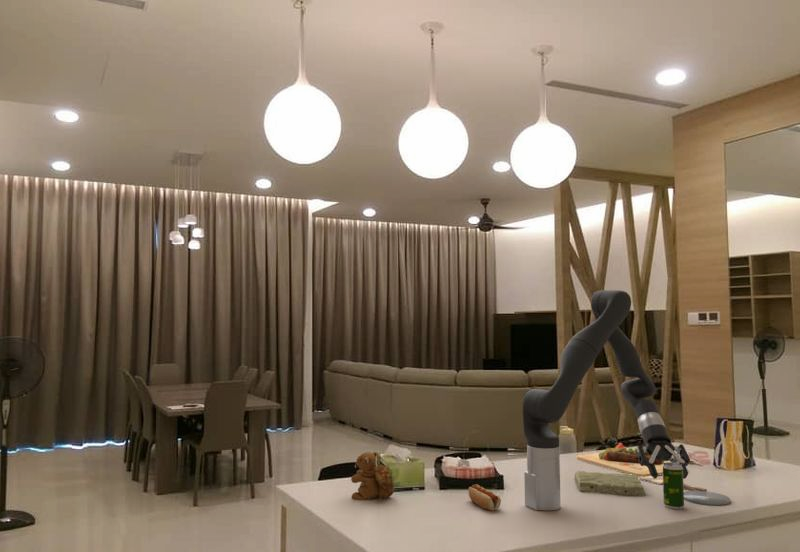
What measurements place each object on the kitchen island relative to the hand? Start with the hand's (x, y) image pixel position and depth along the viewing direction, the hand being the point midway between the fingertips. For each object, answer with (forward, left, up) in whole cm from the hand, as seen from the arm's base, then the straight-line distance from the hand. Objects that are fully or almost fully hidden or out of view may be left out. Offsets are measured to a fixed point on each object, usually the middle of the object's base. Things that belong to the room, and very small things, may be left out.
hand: (670, 477), depth 184 cm
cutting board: (+26, +48, -9) cm, 55 cm away
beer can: (-1, -2, -8) cm, 8 cm away
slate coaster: (+14, +1, -8) cm, 17 cm away
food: (-51, +18, -8) cm, 55 cm away
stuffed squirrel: (-78, +38, -8) cm, 87 cm away
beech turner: (+18, +18, -8) cm, 26 cm away
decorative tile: (-4, +23, -9) cm, 25 cm away
